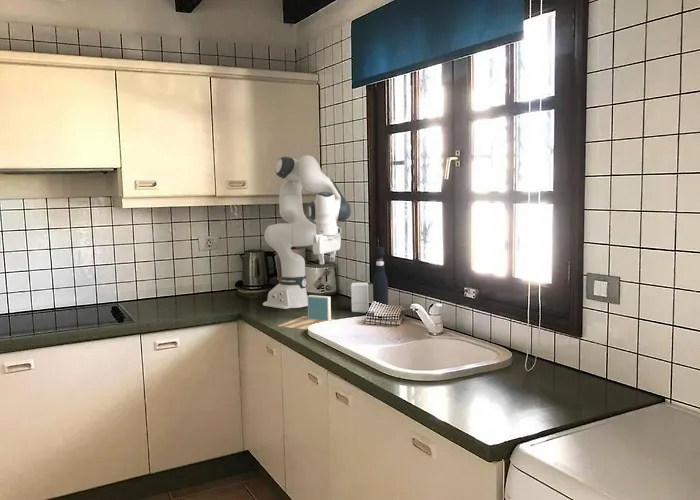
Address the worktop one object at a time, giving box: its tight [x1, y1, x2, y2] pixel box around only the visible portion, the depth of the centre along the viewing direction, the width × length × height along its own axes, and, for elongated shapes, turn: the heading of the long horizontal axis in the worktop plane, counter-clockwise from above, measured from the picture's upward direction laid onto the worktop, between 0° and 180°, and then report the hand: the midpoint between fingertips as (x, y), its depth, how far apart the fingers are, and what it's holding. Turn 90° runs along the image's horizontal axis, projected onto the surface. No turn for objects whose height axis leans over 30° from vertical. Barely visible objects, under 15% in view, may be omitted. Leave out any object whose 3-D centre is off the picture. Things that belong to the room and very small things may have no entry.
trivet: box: [278, 315, 337, 330], centre depth 266 cm, size 20×20×1 cm
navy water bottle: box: [372, 246, 389, 306], centre depth 277 cm, size 6×6×30 cm
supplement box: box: [350, 282, 370, 314], centre depth 290 cm, size 7×7×13 cm
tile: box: [307, 294, 332, 321], centre depth 272 cm, size 10×2×10 cm, turn 62°
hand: (327, 262), depth 276 cm, fingers open, 8 cm apart
